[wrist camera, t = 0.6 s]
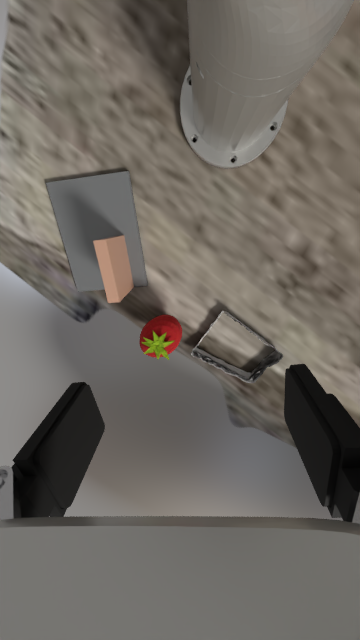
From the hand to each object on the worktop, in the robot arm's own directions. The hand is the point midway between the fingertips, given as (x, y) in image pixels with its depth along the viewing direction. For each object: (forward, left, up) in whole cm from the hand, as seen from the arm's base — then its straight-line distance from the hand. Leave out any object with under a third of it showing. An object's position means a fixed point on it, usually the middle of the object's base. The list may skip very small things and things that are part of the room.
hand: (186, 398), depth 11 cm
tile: (-3, -11, -28) cm, 30 cm away
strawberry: (+8, -6, -28) cm, 30 cm away
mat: (-7, -14, -28) cm, 32 cm away
